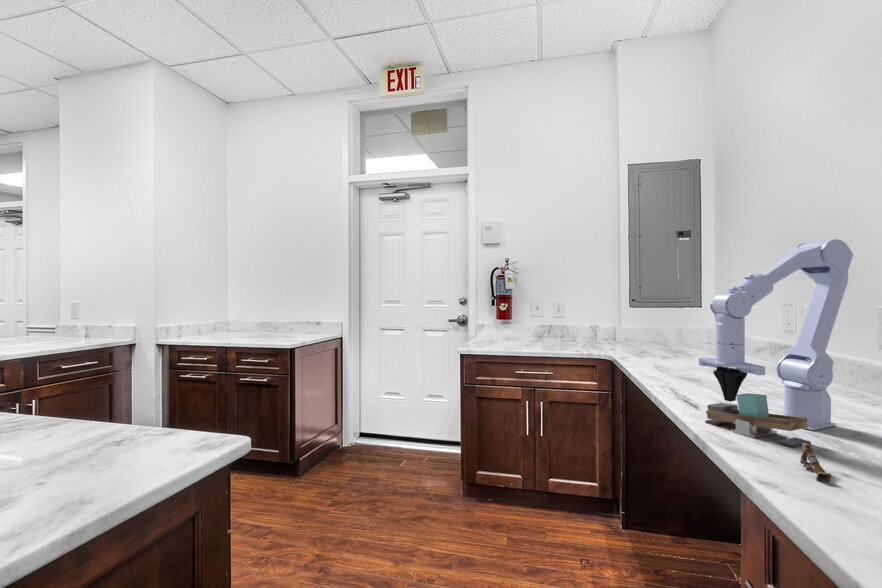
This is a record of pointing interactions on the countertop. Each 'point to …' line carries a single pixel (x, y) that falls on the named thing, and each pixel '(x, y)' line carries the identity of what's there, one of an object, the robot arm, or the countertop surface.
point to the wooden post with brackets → (813, 463)
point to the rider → (753, 405)
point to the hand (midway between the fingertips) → (729, 400)
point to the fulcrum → (758, 431)
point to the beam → (755, 418)
